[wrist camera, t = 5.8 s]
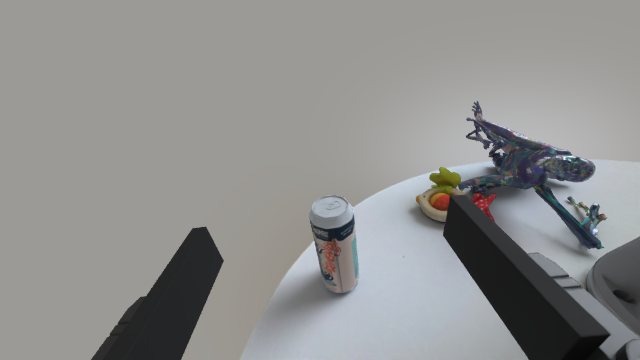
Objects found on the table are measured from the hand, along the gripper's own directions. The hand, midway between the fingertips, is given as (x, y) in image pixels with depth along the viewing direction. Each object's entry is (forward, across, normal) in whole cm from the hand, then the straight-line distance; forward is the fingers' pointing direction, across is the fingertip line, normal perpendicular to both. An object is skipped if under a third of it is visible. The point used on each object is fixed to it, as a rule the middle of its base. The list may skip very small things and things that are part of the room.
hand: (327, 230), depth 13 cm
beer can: (+10, 0, -18) cm, 20 cm away
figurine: (+18, +24, -11) cm, 31 cm away
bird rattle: (+19, +15, -17) cm, 29 cm away
